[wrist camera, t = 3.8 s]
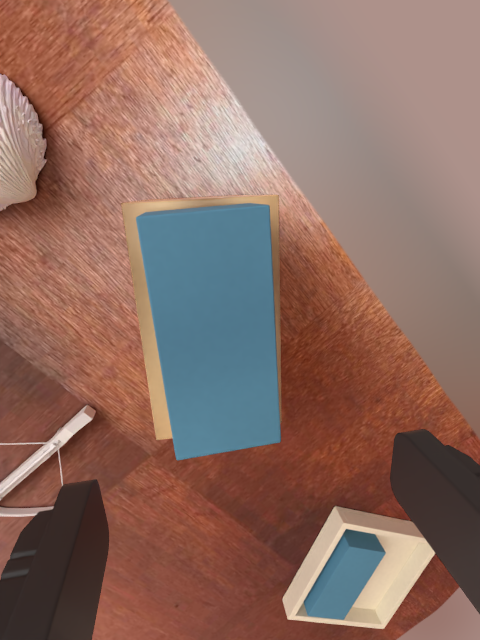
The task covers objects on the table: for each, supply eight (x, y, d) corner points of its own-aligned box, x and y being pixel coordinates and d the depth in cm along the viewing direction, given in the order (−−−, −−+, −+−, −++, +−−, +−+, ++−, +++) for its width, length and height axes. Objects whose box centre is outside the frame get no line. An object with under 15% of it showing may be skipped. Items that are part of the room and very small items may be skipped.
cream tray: (430, 525, 50) (443, 541, 48) (374, 609, 54) (383, 629, 52) (334, 505, 46) (343, 523, 44) (282, 598, 50) (287, 619, 48)
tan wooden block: (237, 195, 32) (279, 194, 19) (244, 341, 37) (281, 422, 24) (144, 199, 31) (120, 203, 18) (163, 350, 36) (156, 440, 22)
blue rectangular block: (251, 202, 19) (270, 204, 15) (264, 402, 23) (281, 442, 19) (143, 212, 18) (135, 216, 14) (176, 416, 22) (176, 461, 18)
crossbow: (37, 527, 41) (30, 544, 39) (-69, 465, 36) (-84, 481, 34) (139, 442, 38) (136, 456, 36) (38, 366, 34) (29, 377, 32)
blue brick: (374, 532, 48) (386, 553, 45) (334, 596, 51) (343, 620, 48) (339, 525, 46) (349, 546, 44) (300, 592, 49) (307, 616, 46)
